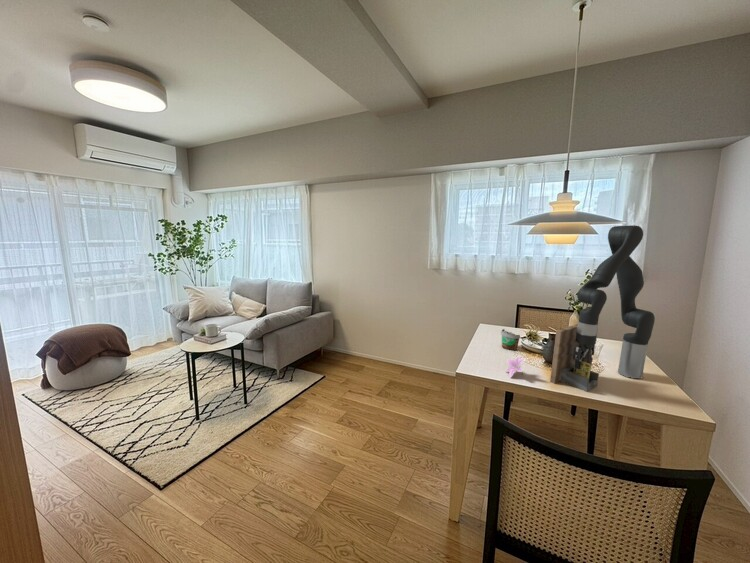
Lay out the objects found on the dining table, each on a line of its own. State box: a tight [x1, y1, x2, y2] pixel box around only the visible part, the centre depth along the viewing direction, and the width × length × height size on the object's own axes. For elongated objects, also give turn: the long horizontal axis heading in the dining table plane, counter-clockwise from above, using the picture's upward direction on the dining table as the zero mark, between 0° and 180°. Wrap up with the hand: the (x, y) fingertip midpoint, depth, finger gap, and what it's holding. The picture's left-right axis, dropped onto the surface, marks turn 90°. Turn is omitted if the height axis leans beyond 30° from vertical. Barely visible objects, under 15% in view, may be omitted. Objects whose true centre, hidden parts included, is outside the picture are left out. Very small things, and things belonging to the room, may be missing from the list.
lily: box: [505, 354, 527, 379], centre depth 145 cm, size 12×12×10 cm
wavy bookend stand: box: [549, 323, 600, 392], centre depth 137 cm, size 20×13×25 cm, turn 121°
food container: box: [500, 328, 521, 352], centre depth 178 cm, size 12×6×10 cm, turn 25°
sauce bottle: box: [573, 345, 593, 378], centre depth 136 cm, size 6×6×20 cm
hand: (582, 366), depth 136 cm, fingers open, 8 cm apart
